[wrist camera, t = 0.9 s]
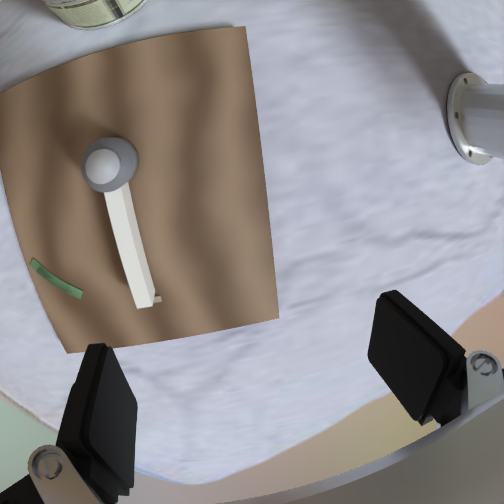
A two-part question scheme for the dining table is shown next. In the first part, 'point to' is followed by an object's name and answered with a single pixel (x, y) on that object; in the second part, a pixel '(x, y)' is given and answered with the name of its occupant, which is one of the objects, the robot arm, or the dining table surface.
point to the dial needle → (120, 207)
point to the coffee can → (93, 12)
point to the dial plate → (144, 189)
